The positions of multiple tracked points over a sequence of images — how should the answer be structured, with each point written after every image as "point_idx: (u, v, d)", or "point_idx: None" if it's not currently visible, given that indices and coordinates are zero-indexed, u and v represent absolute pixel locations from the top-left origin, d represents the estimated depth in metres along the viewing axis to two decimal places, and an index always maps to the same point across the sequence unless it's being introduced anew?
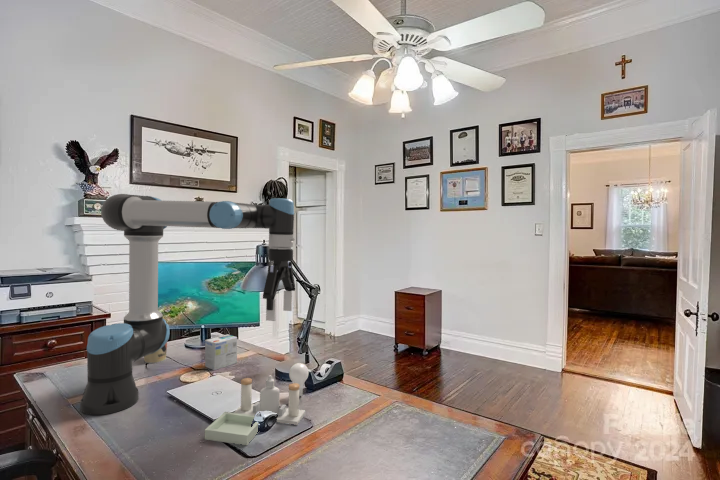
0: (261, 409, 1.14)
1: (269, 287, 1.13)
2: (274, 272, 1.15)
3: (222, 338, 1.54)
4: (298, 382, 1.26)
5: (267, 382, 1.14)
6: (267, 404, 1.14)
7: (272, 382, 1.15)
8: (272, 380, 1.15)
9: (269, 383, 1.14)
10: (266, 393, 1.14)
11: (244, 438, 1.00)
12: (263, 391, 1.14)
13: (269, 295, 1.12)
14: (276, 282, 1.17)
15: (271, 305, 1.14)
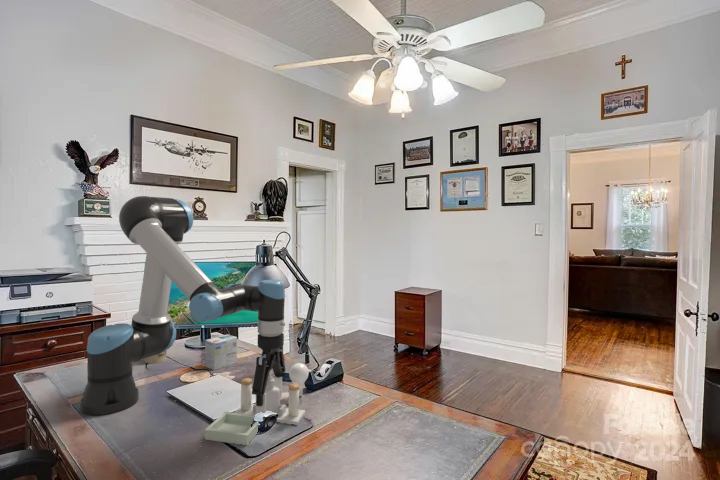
0: None
1: (258, 383, 1.07)
2: (263, 365, 1.08)
3: (222, 338, 1.54)
4: (298, 382, 1.26)
5: (267, 382, 1.14)
6: (267, 404, 1.14)
7: (272, 382, 1.15)
8: (272, 380, 1.15)
9: (269, 383, 1.14)
10: (266, 393, 1.14)
11: (244, 438, 1.00)
12: None
13: (258, 392, 1.06)
14: (266, 374, 1.10)
15: (261, 401, 1.08)
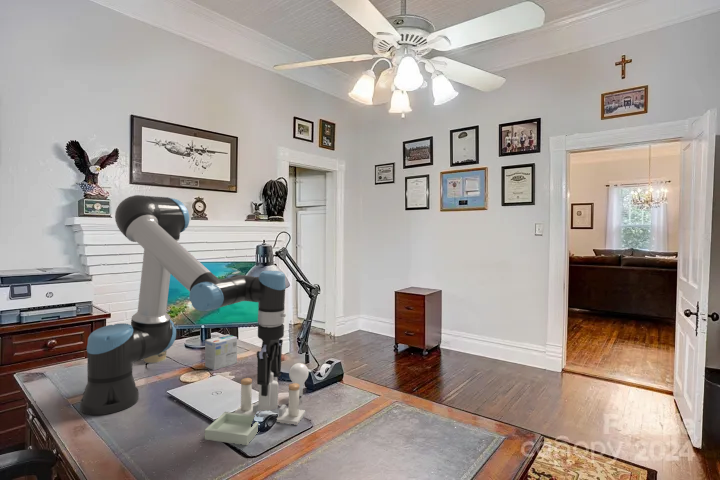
0: (259, 402, 1.14)
1: (262, 375, 1.09)
2: (264, 359, 1.09)
3: (222, 338, 1.54)
4: (298, 382, 1.26)
5: None
6: None
7: (271, 375, 1.14)
8: (271, 373, 1.15)
9: None
10: None
11: (244, 438, 1.00)
12: None
13: (263, 383, 1.10)
14: (268, 365, 1.12)
15: (266, 391, 1.12)
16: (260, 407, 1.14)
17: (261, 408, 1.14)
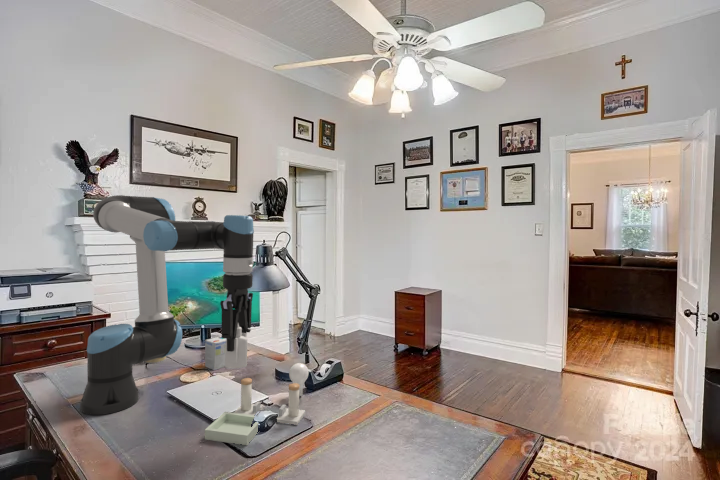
0: (226, 359, 1.03)
1: (226, 327, 0.99)
2: (229, 309, 0.98)
3: (222, 338, 1.54)
4: (298, 382, 1.26)
5: None
6: None
7: (239, 330, 1.04)
8: (239, 328, 1.04)
9: None
10: None
11: (244, 438, 1.00)
12: None
13: (228, 336, 0.99)
14: (234, 318, 1.01)
15: (232, 346, 1.01)
16: (227, 365, 1.03)
17: (228, 366, 1.03)
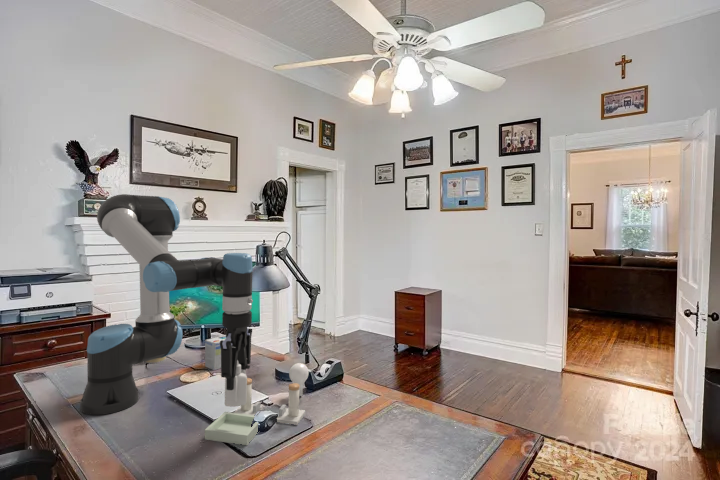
0: None
1: (226, 367, 0.99)
2: (228, 349, 0.99)
3: (222, 338, 1.54)
4: (298, 382, 1.26)
5: None
6: None
7: (238, 368, 1.04)
8: (238, 365, 1.05)
9: None
10: None
11: (244, 438, 1.00)
12: None
13: (228, 376, 0.99)
14: (234, 356, 1.02)
15: (231, 385, 1.01)
16: (226, 402, 1.04)
17: (227, 404, 1.04)
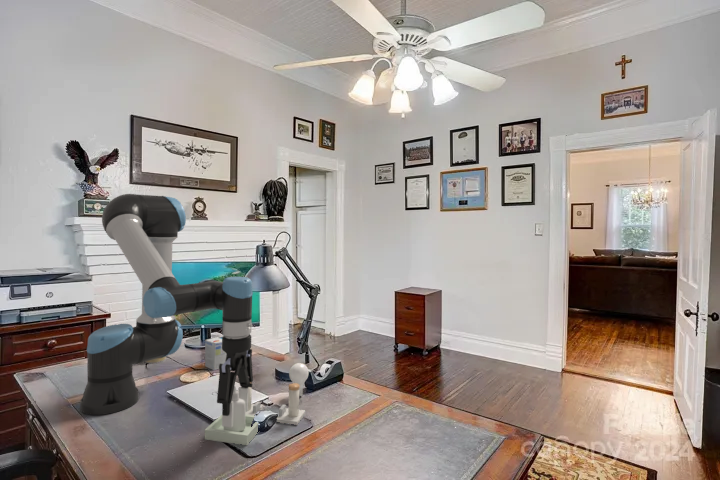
0: None
1: (222, 392, 0.98)
2: (227, 373, 0.99)
3: None
4: (298, 382, 1.26)
5: None
6: None
7: (236, 394, 1.04)
8: (236, 392, 1.05)
9: None
10: None
11: (244, 438, 1.00)
12: None
13: (224, 401, 0.98)
14: (231, 381, 1.01)
15: (227, 410, 1.00)
16: (225, 429, 1.04)
17: None
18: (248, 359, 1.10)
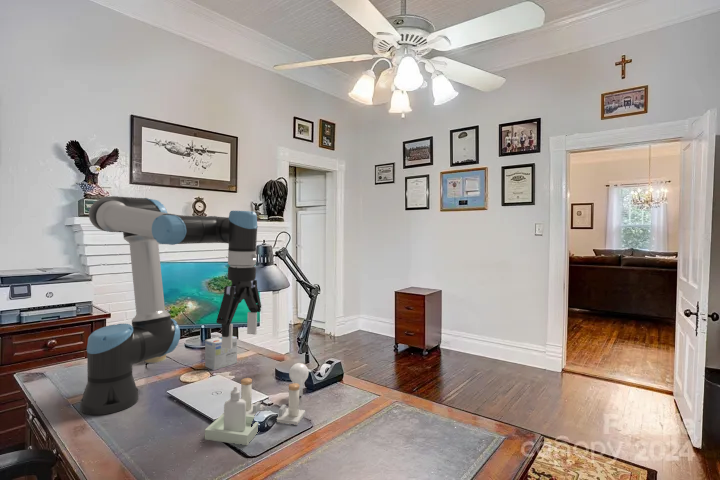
0: (225, 423, 1.04)
1: (224, 312, 1.01)
2: (231, 294, 1.02)
3: None
4: (298, 382, 1.26)
5: (231, 394, 1.05)
6: (231, 418, 1.04)
7: (237, 394, 1.05)
8: (237, 392, 1.05)
9: (233, 395, 1.04)
10: (230, 406, 1.04)
11: (244, 438, 1.00)
12: (227, 403, 1.04)
13: (223, 321, 1.00)
14: (234, 305, 1.04)
15: (226, 331, 1.02)
16: (225, 429, 1.04)
17: None
18: (254, 289, 1.15)
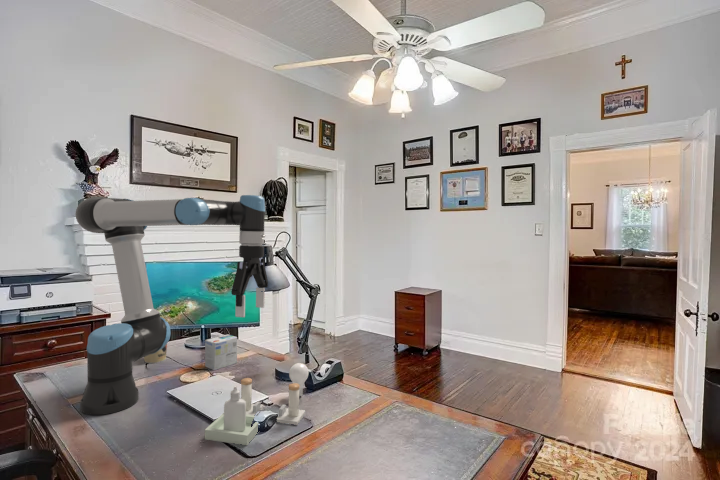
0: (225, 423, 1.04)
1: (237, 284, 1.14)
2: (243, 268, 1.16)
3: (222, 338, 1.54)
4: (298, 382, 1.26)
5: (231, 394, 1.05)
6: (231, 418, 1.04)
7: (237, 394, 1.05)
8: (237, 392, 1.05)
9: (233, 395, 1.04)
10: (230, 406, 1.04)
11: (244, 438, 1.00)
12: (227, 403, 1.04)
13: (237, 291, 1.13)
14: (246, 278, 1.18)
15: (240, 301, 1.15)
16: (225, 429, 1.04)
17: None
18: (262, 267, 1.28)
